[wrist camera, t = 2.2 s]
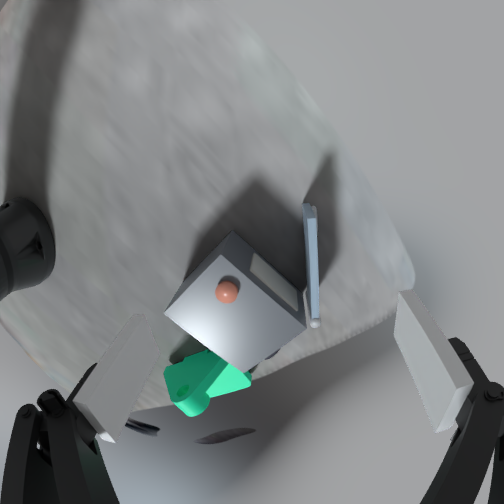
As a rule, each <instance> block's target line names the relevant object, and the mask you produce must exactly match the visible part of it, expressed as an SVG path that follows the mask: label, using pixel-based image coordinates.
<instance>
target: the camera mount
mask: <svg viewBox="0 0 504 504" xmlns="http://www.w3.org/2000/svg"><path fill="white" fill-rule="evenodd" d="M164 377H165V381H166V385H167V388H168V392H169V395H170V399H171V401H172V402H173V403H174V404H175V405H177V406H178V407H179V408H180V409H181V410H182V411H183V412H184V413H185V414H186V415H187V416H190V417H193V416H196V415H199V414H200V413H202V412H203V411H204V410H205V409H206V408H207V407H208V405H209V402H210V398H211V397H215V396H219V395H222V394H226V393H230V392H233V391H236V390H240V389H244V388H247V387H249V386H250V385H251V378H252V376H251V374H250V373H249V372H248V371H246V372H245V373H242V372H241V371H240V370H238V369H237V368H235V367H234V366H232V365H231V364H230V363H228V362H227V361H225V360H224V359H223V358H221V357H220V356H218V355H217V354H216V353H214V352H213V351H211V352H210V351H209V350H208V349H207V350H205V351H202V352H199V353H196V354H193V355H190V356H188V357H185V358H184V360H183V362H180V363H177V364H174V365H170V366H167V367H166V369H165V371H164Z"/></svg>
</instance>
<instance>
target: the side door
mask: <svg viewBox="0 0 504 504" xmlns="http://www.w3.org/2000/svg"><path fill="white" fill-rule="evenodd" d="M302 210H303V223H304V238H305V255H306V275H307V291H306V299H307V306H308V313H309V320H310V326H311V327H313V328H317V327H319V326H320V325H321V320H320V315H319V278H318V249H317V232H318V220H317V209H316V207H315V206H310V204H309V203H303V204H302Z"/></svg>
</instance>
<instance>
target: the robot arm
mask: <svg viewBox="0 0 504 504" xmlns="http://www.w3.org/2000/svg"><path fill="white" fill-rule="evenodd" d="M54 261H55V249H54V242H53V238H52V234H51V231H50V228H49V226H48V224H47V222H46V220H45V218H44V216H43V214H42V213H41V211H40V210H39V209H38V208H37V207H36V205H35V204H33V203H32V202H31V201H29V200H28V199H25V198H22V197H18V198H14V199H12V200H9V201H7V202H5V203H3V204H2V205H1V206H0V301H1V300H2V299H3V298H4V297H6V296H7V295H8V294H10V293H11V292H12V291H16V290H20V289H24V288H28V287H32V286H36V285H38V284H40V283H41V282H43V281H44V280H45V279H46V278H48V277H49V275H50V274H51V272H52V270H53V267H54ZM394 337H395V339H396V341H397V344H398V346H399V348H400V350H401V352H402V354H403V357H404V359H405V361H406V363H407V366H408V368H409V370H410V372H411V375H412V377H413V380H414V382H415V384H416V387H417V389H418V392H419V394H420V396H421V399H422V401H423V404H424V406H425V409H426V411H427V414H428V417H429V420H430V422H431V425H432V428H433V430H434V433H437V432H440V431H443V430H446V429H449V428H451V427H452V425H453V423H454V421H455V420H456V422H457V424H458V428H457V430H456V432H455V433H454V435H453V436H452V438H451V439H450V440H451V441H452V442H451V444H450V446H449V449H448V451H447V453H446V455H445V458H444V460H443V462H442V464H441V466H440V468H439V470H438V472H437V474H436V476H435V478H434V480H433V481H432V483H431V485H430V487H429V489H428V490H427V493H426V494H425V496H424V497H423V499H422V501H421V503H420V504H474V501H475V499H476V497H477V495H478V492H479V490H480V487H481V485H482V482H483V480H484V477H485V474H486V472H487V469H488V466H489V463H490V460H491V457H492V454H493V451H494V448H495V454H494V464H493V473H492V480H491V488H490V493H489V500H488V504H504V388H503V387H502V386H501V385H500V384H498V383H496V382H490V381H489V380H488V378H487V377H486V375H485V373H484V372H483V370H482V369H481V367H480V366H479V364H478V363H477V361H476V359H474V357H473V355H472V353H470V350H469V349H468V347H467V346H466V345H465V343H464V342H462V341H460V340H459V339H458V338H456V337H455V338H451V339H447V338H446V336H445V335H444V334H443V332H442V331H441V329H440V327H439V326H438V325H437V323H436V322H435V320H434V319H433V317H432V316H431V315H430V313H429V312H428V310H427V309H426V307H425V306H424V305H423V303H422V302H421V300H420V299H419V298H418V296H417V295H416V294H415V292H414V291H413V290H406V291H399V296H398V306H397V315H396V322H395V330H394ZM159 355H160V351H159V349H158V346H157V344H156V342H155V339H154V337H153V334H152V332H151V329H150V326H149V324H148V321H147V319H146V316H145V314H135V315H133V316H132V317H131V318H130V320H129V321H128V322H127V324H126V325H125V326H124V328H123V329H122V330H121V332H120V333H119V334H118V336H117V337H116V339H115V340H114V341H113V343H112V344H111V346H110V347H109V348H108V350H107V351H106V353H105V354H104V355H103V357H102V358H101V360H100V361H99V362H98V363H95V364H94V365H92V366H91V367H90V368H89V369H88V370H87V371H86V373H85V374H84V375H83V378H81V380H80V381H79V383H78V384H77V385H76V387H75V388H74V390H73V391H72V393H71V394H70V396H69V397H68V399H67V400H66V401H65V400H64V398H63V397H62V395H61V394H60V393H59V391H57V390H56V389H50V390H47V391H45V392H43V393H42V394H41V395H40V396H39V398H38V400H37V404H38V406H39V407H40V408H41V410H42V411H38V409H37V408H36V407H35V406H34V405H33V404H26V405H24V406H22V407H21V408H20V409H19V410H18V413H17V415H16V418H15V422H14V426H13V430H12V434H11V439H10V443H9V448H8V452H7V458H6V463H5V469H4V476H3V483H2V491H1V501H0V504H120V503H119V501H118V498H117V496H116V493H115V491H114V488H113V486H112V483H111V481H110V478H109V475H108V473H107V470H106V467H105V464H104V461H103V458H102V455H101V452H100V449H99V445H98V442H97V440H96V439H95V435H96V433H98V434H99V435H100V437H101V438H102V439H103V440H106V441H110V442H114V443H116V442H117V440H118V438H119V436H120V434H121V432H122V430H123V427H124V426H125V423H126V421H127V419H128V417H129V415H130V413H131V411H132V409H133V407H134V405H135V403H136V401H137V399H138V397H139V395H140V393H141V391H142V389H143V387H144V385H145V383H146V381H147V379H148V377H149V375H150V373H151V371H152V369H153V367H154V365H155V363H156V361H157V359H158V357H159ZM37 443H38V444H39V445H40V449H38V448H37Z"/></svg>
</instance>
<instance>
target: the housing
mask: <svg viewBox="0 0 504 504" xmlns="http://www.w3.org/2000/svg"><path fill="white" fill-rule="evenodd" d="M164 314H165V315H166V316H168V317H169V318H170V319H171V320H173V321H174V322H175V323H176V324H178V325H179V326H180V327H181V328H183V329H184V330H185V331H187V332H188V333H189V334H190V335H192V336H193V337H194V338H196V339H197V340H198V341H200V342H201V343H202V344H204V345H205V346H206V347H208V348H209V349H210V350H212V351H213V352H214V353H216V354H217V355H218V356H220V357H221V358H223V359H224V360H225V361H227V362H228V363H230V364H231V365H232V366H234V367H235V368H237V369H238V370H240V371H241V372H242V373H245V372H246V371H248V370H249V369H251V368H252V367H254V366H255V365H257V364H258V363H260V362H261V361H263V360H264V359H265V360H266V359H270V358H271V357H273V356H274V355H275V354H276V353H277V352H278V351H279V350H280V348H281V347H282V346H284V345H285V344H287V343H288V342H289V341H291V340H292V339H293V338H295V337H296V336H297V335H299V334H300V333H301V332H303V331H304V330H305V329H307V326H306V317H305V309H304V301H303V293H301V292H300V291H299V290H298V289H297V288H296V287H295V286H294V285H293V284H292V283H290V282H289V281H288V280H287V279H286V278H285V277H284V276H283V275H282V274H281V273H279V272H278V271H277V270H276V269H275V268H274V267H273V266H272V265H271V264H270V263H268V262H267V261H266V260H265V259H264V258H263V257H262V256H261V255H260V254H259V253H257V252H256V251H255V250H254V249H253V248H252V247H251V246H250V245H249V244H247V243H246V242H245V241H244V240H243V239H242V238H241V237H240V236H239V235H238V234H236V233H235V232H234V231H233V230H232V231H231V232H230V233H229V234H228V235H227V236H226V237H225V238H224V239H223V240H222V241H221V242H220V243H219V244H218V246H217V247H216V248H215V249H214V250H213V251H212V252H211V253H210V254H209V255H208V256H207V257H206V258H205V259H204V260H203V261H202V262H201V263H200V264H199V265H198V267H197V268H196V269H195V270H194V271H193V272H192V273H191V274H190V275H189V276H188V277H187V278H186V279H185V280H184V281H183V283H182V284H181V286H180V288H179V289H178V291H177V292H176V294H175V296H174V297H173V299H172V301H171V302H170V304H169V305H168V307H167V309H166V310H165V312H164Z"/></svg>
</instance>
